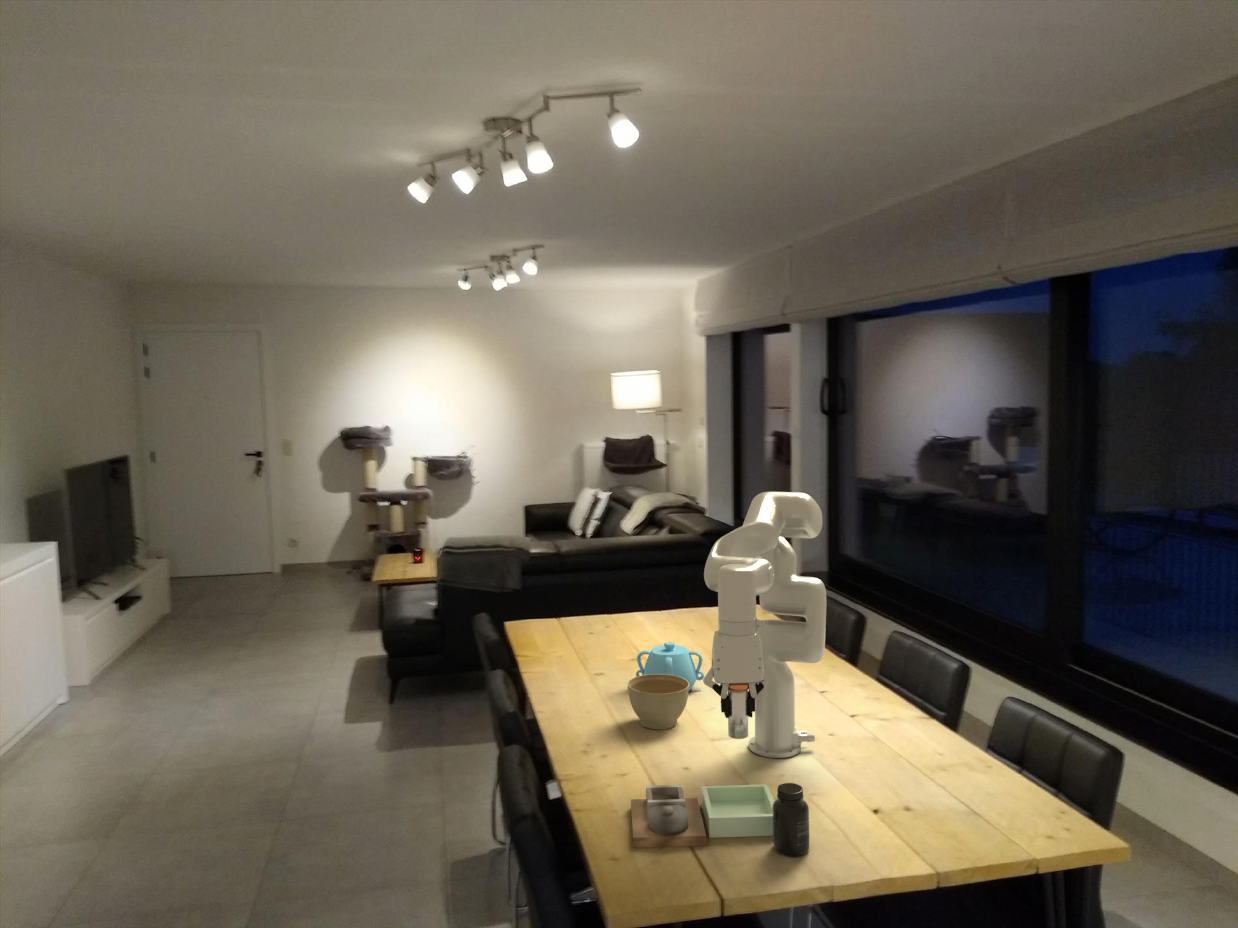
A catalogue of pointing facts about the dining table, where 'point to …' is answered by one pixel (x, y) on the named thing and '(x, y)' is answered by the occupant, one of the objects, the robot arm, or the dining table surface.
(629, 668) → the dining table surface
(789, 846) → the supplement bottle
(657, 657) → the decorative pot
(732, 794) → the tray
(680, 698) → the planter bowl
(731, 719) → the jar with copper lid
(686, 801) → the wooden stand
